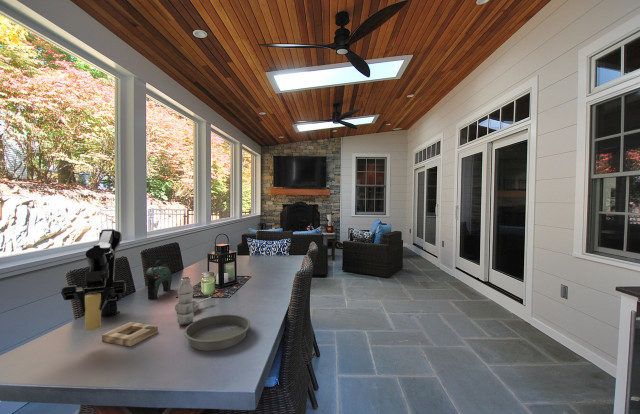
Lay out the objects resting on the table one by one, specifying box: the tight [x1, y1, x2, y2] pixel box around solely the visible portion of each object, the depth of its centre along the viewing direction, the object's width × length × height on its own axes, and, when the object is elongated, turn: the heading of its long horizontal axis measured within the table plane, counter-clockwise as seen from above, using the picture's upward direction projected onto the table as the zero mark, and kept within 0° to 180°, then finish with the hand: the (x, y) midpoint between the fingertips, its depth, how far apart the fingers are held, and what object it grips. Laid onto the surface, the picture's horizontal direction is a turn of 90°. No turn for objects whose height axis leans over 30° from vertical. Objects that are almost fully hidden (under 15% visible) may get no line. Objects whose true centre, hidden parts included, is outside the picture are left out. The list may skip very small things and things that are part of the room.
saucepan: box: [174, 296, 212, 314], centre depth 139 cm, size 11×18×4 cm, turn 143°
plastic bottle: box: [176, 276, 195, 326], centre depth 123 cm, size 6×7×20 cm
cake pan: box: [183, 313, 251, 352], centre depth 111 cm, size 25×25×4 cm
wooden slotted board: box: [101, 321, 159, 347], centre depth 111 cm, size 14×12×3 cm
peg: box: [84, 292, 102, 331], centre depth 103 cm, size 5×5×12 cm
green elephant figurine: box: [145, 260, 173, 300], centre depth 161 cm, size 20×6×20 cm, turn 179°
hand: (92, 310), depth 102 cm, fingers closed on peg, 5 cm apart
